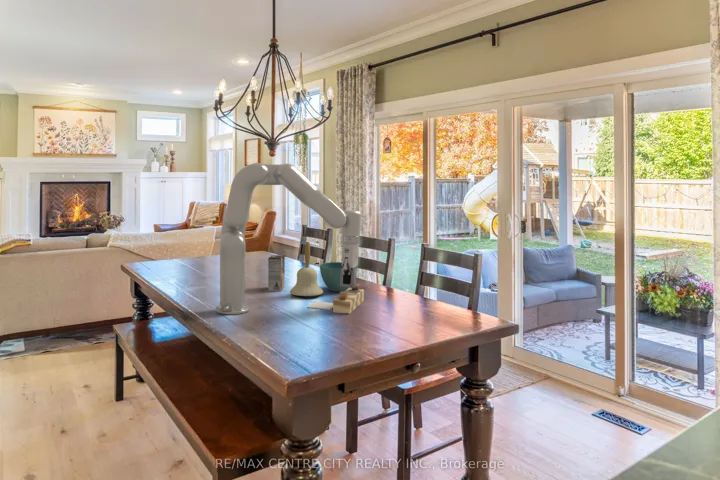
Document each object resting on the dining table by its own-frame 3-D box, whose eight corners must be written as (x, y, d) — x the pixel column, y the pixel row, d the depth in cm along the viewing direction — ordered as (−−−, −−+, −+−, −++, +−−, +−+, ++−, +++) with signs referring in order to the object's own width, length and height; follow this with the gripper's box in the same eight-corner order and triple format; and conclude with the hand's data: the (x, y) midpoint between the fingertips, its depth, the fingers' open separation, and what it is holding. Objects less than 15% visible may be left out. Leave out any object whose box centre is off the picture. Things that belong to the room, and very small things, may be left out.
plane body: (349, 313, 194) (350, 294, 193) (332, 312, 196) (333, 292, 195) (363, 300, 217) (364, 282, 216) (348, 299, 219) (349, 281, 218)
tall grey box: (353, 287, 203) (354, 270, 202) (339, 285, 204) (340, 269, 203) (355, 285, 206) (356, 269, 206) (342, 284, 208) (343, 268, 207)
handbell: (324, 292, 231) (325, 240, 229) (322, 299, 216) (323, 244, 214) (291, 291, 231) (292, 239, 228) (287, 298, 216) (288, 243, 213)
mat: (330, 309, 199) (330, 309, 199) (307, 307, 201) (307, 306, 201) (337, 304, 209) (337, 303, 209) (315, 302, 211) (315, 301, 211)
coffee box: (271, 287, 239) (272, 254, 237) (284, 287, 239) (285, 255, 237) (267, 291, 230) (268, 257, 228) (281, 291, 230) (281, 258, 228)
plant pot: (352, 295, 227) (352, 269, 226) (314, 292, 231) (315, 266, 229) (359, 287, 245) (360, 263, 243) (324, 284, 248) (325, 261, 247)
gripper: (354, 242, 194) (351, 287, 196) (363, 239, 210) (361, 280, 212) (336, 241, 196) (333, 285, 198) (347, 237, 212) (344, 279, 214)
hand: (348, 282), depth 205 cm, fingers closed on tall grey box, 4 cm apart
